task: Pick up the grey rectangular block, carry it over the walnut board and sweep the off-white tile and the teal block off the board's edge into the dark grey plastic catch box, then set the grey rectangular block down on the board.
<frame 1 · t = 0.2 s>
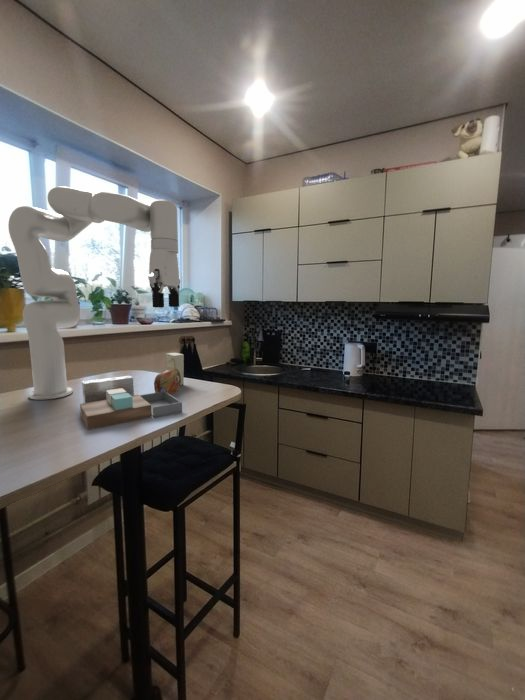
hand: (166, 307, 96), 31 cm above the table, tool pointing down, fingers open, 9 cm apart
skincare box: (175, 384, 127), on the table
teal block: (122, 406, 89), point 3 cm above the table, touching board
board: (116, 416, 92), on the table
grey rectangular block: (109, 404, 103), on the table
catch box: (159, 408, 99), on the table
tin: (168, 394, 114), on the table
tile white: (116, 401, 94), point 3 cm above the table, touching board
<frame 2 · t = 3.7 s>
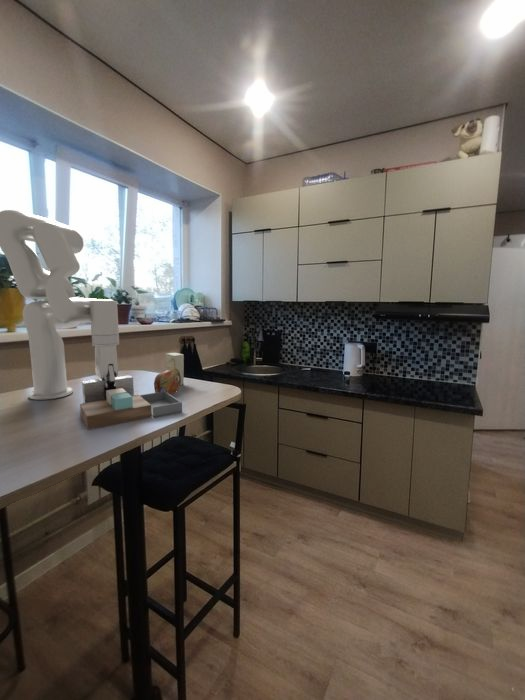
hand: (109, 397, 102), 2 cm above the table, tool pointing down, fingers closed on grey rectangular block, 3 cm apart
grey rectangular block: (109, 403, 102), on the table, touching gripper
everything else where it was.
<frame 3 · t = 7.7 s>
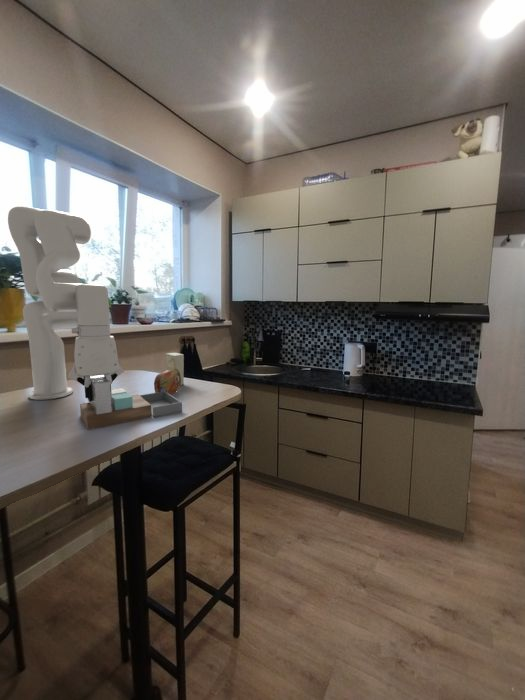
hand: (98, 398, 88), 6 cm above the table, tool pointing down, fingers closed on grey rectangular block, 3 cm apart
teal block: (122, 406, 89), point 3 cm above the table, touching board, gripper
grey rectangular block: (99, 405, 89), point 4 cm above the table, touching gripper
tile white: (116, 401, 94), point 4 cm above the table, touching gripper
everything else where it was.
when the fingers open (6 cm above the table, at t = 12.9 s): grey rectangular block stays where it is, resting on board.
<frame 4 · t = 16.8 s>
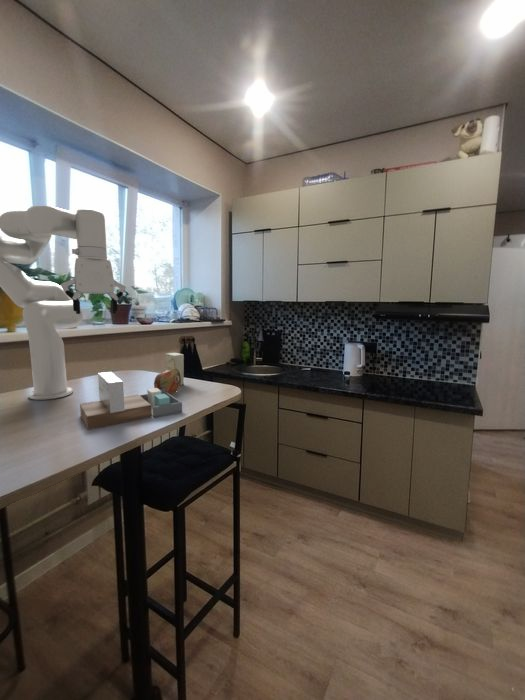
hand: (96, 313, 98), 28 cm above the table, tool pointing down, fingers open, 9 cm apart
teal block: (156, 404, 94), point 3 cm above the table, tilted 90°, touching catch box
grey rectangular block: (111, 404, 91), point 3 cm above the table, touching board
tile white: (149, 397, 100), point 3 cm above the table, tilted 90°, touching catch box
everything else where it was.
at the end: tile white inside the target area on the catch box (4.0 cm from its centre), point 2.6 cm above the catch box's base; teal block inside the target area on the catch box (4.5 cm from its centre), point 2.6 cm above the catch box's base; the gripper is holding nothing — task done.
